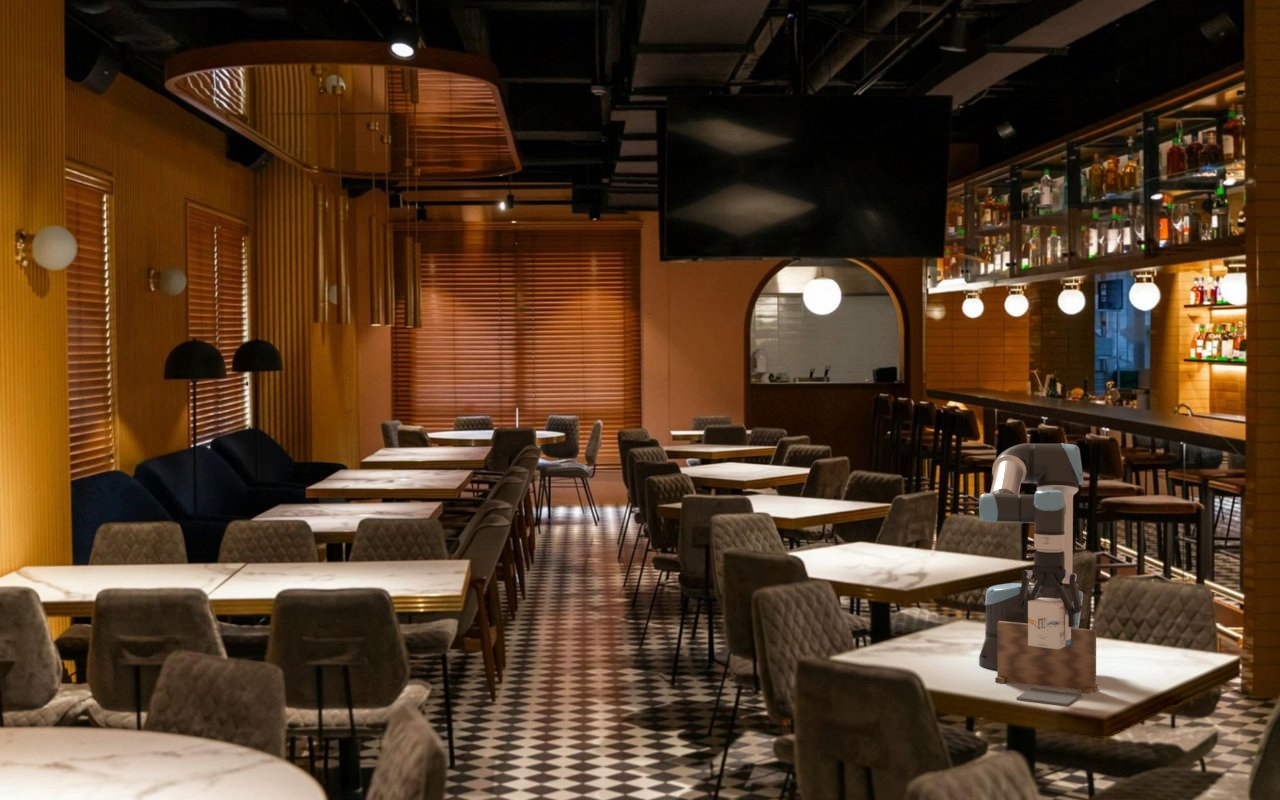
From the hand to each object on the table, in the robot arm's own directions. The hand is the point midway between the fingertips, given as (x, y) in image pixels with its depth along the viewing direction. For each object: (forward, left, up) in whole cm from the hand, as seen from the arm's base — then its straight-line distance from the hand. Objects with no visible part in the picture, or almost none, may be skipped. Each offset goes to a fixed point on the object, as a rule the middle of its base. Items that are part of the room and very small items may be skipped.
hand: (1049, 637), depth 355 cm
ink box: (0, 0, -2) cm, 2 cm away
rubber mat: (0, 0, -16) cm, 16 cm away
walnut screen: (-5, +14, -16) cm, 22 cm away
